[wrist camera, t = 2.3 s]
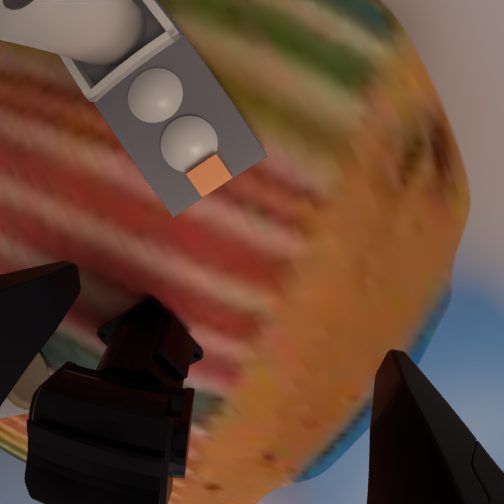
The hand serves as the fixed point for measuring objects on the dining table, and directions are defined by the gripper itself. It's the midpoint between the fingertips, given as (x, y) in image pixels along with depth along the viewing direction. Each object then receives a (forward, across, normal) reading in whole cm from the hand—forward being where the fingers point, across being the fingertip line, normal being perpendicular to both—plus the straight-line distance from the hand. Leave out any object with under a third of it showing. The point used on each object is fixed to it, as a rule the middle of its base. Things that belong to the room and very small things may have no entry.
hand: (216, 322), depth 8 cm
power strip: (+11, +9, -6) cm, 16 cm away
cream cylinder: (+9, +11, -9) cm, 17 cm away
